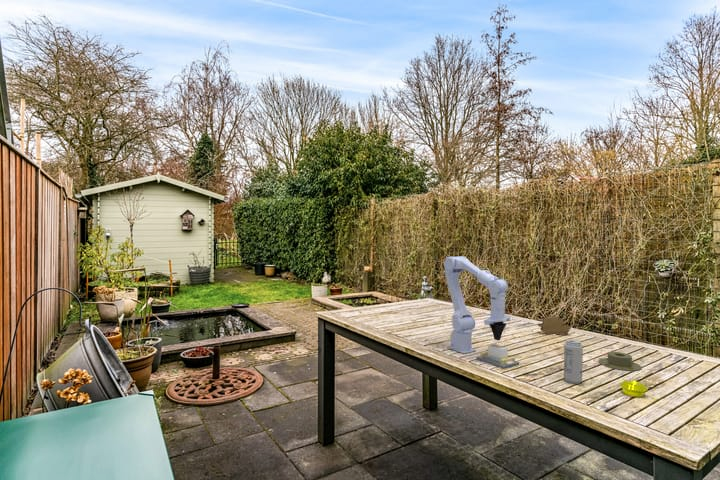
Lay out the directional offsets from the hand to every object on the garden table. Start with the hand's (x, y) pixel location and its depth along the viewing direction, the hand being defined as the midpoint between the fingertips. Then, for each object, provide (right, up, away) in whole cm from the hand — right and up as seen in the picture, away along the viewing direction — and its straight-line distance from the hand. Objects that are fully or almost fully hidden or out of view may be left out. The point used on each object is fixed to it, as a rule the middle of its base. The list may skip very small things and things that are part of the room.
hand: (497, 339), depth 167 cm
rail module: (0, -8, -1) cm, 8 cm away
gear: (+35, -11, -32) cm, 49 cm away
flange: (+50, -10, -3) cm, 51 cm away
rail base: (0, -9, -1) cm, 9 cm away
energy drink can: (+20, -10, -22) cm, 32 cm away
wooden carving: (+47, -9, +45) cm, 66 cm away
